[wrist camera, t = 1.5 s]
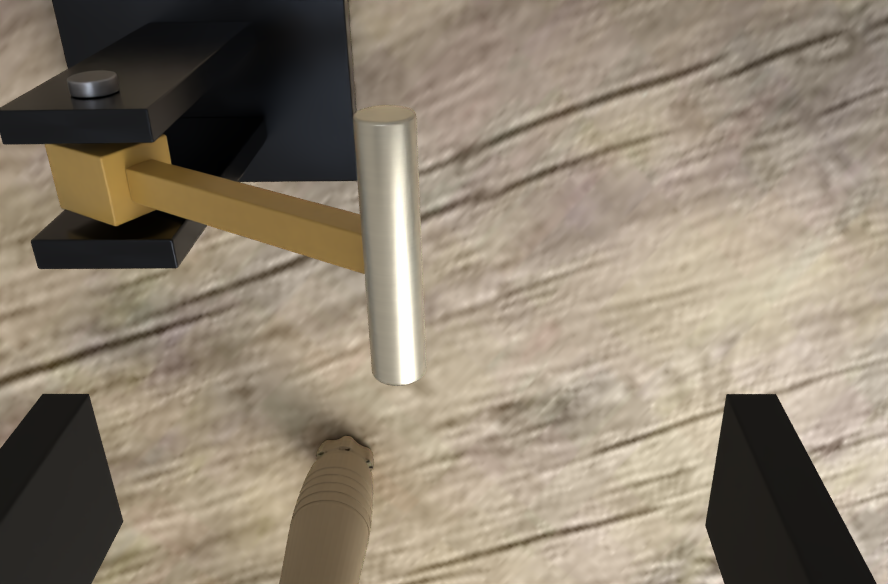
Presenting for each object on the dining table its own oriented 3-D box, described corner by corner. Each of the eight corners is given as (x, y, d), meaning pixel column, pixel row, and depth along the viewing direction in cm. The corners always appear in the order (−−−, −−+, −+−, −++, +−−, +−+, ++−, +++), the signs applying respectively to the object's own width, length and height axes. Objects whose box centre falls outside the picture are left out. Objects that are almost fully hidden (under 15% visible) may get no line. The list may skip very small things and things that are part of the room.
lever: (440, 104, 20) (376, 132, 18) (446, 358, 23) (393, 402, 21) (93, 45, 26) (22, 61, 25) (137, 249, 30) (77, 275, 28)
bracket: (345, -37, 35) (274, 32, 23) (361, 172, 39) (307, 325, 27) (57, -32, 35) (-164, 40, 23) (103, 174, 39) (-63, 326, 27)
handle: (365, 399, 45) (319, 634, 32) (406, 489, 48) (379, 739, 35) (282, 421, 46) (203, 658, 33) (327, 508, 49) (271, 758, 35)
